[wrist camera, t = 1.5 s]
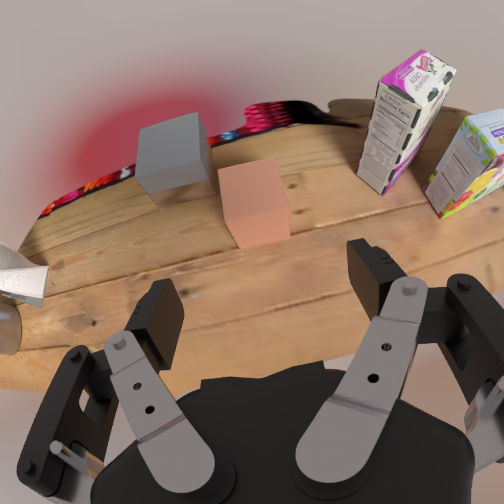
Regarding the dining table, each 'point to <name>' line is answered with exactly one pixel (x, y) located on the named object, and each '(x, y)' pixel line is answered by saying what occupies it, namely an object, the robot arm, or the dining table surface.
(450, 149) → the snack box
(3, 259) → the twisted tower model
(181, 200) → the walnut block
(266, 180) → the salmon orange block
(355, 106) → the dining table surface
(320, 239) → the dining table surface
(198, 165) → the gray block
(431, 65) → the candy bar box
